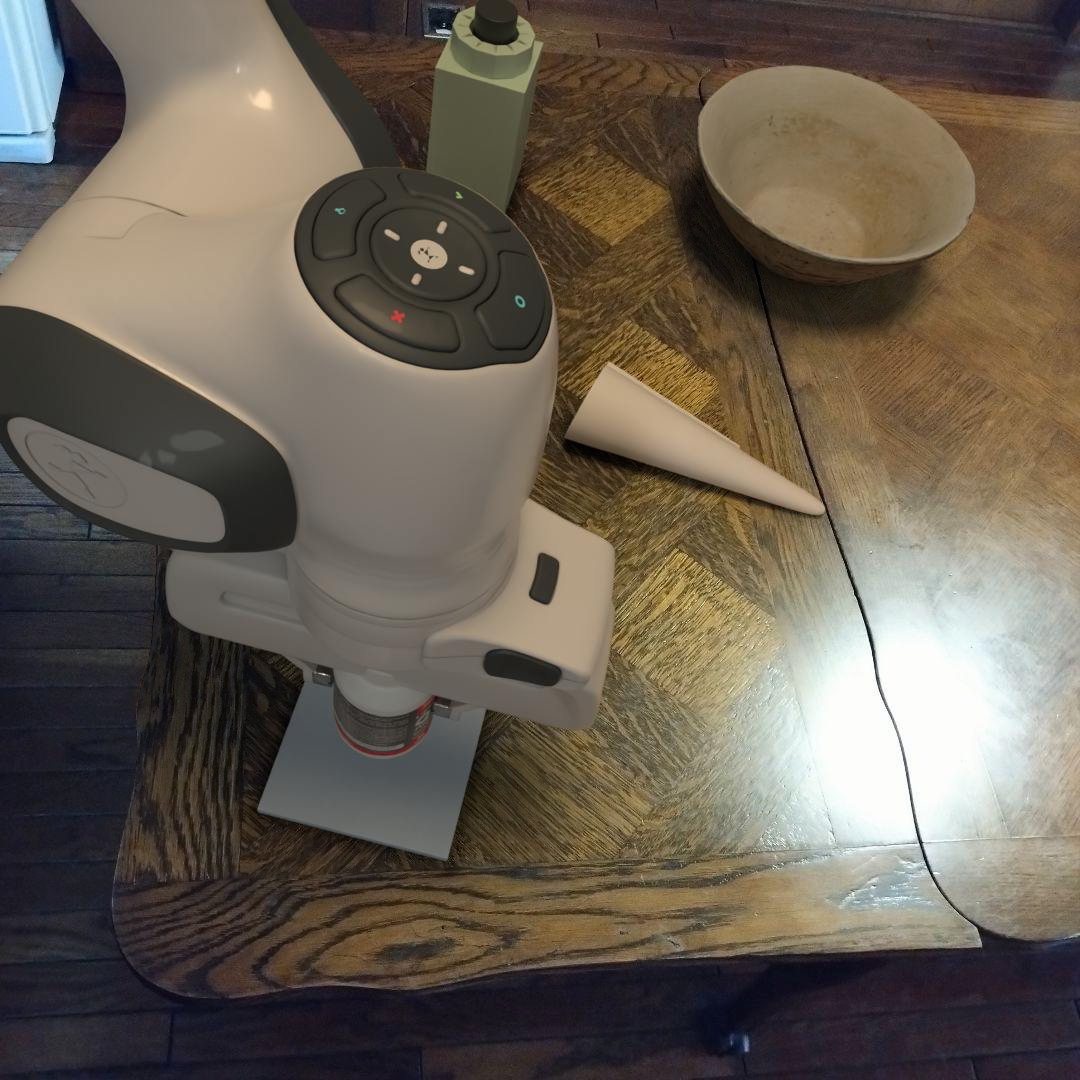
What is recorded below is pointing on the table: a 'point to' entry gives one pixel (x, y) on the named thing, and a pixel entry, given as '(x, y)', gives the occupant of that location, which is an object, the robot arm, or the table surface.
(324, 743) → the coaster
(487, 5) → the cylinder
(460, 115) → the green square bottle
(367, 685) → the pill bottle
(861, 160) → the bowl
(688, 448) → the long cone
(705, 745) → the table surface
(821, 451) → the table surface
